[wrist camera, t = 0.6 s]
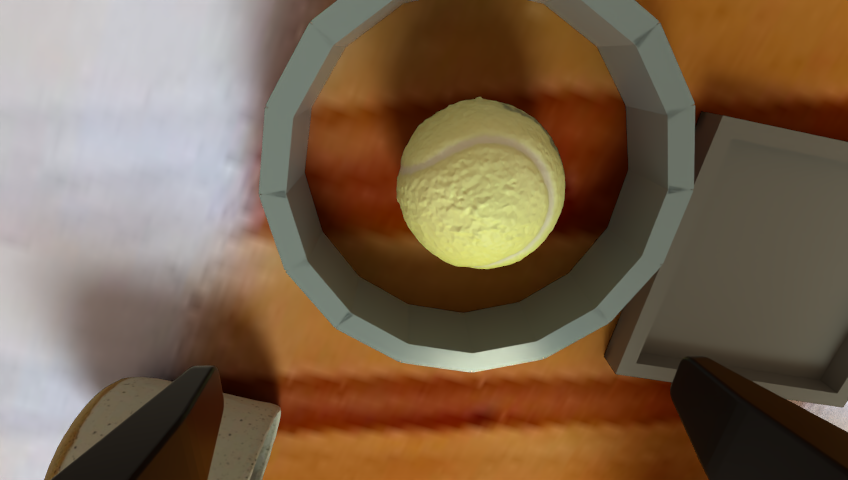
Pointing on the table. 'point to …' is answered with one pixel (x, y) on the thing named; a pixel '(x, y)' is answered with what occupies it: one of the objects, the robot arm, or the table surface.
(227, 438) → the ceramic mug
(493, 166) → the tennis ball
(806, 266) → the tray
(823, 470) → the robot arm
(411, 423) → the table surface
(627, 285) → the gray open ring
